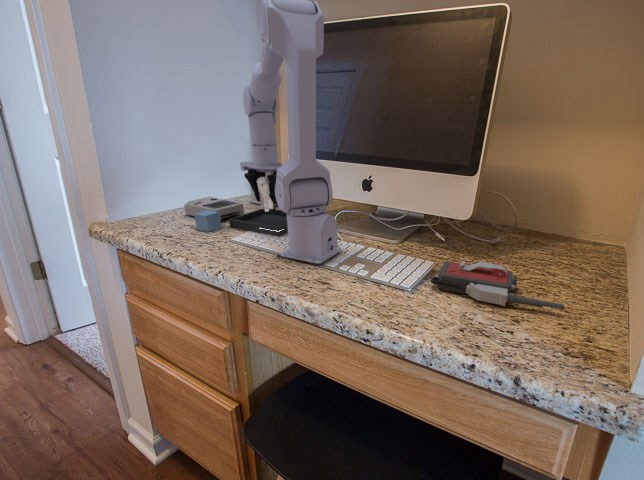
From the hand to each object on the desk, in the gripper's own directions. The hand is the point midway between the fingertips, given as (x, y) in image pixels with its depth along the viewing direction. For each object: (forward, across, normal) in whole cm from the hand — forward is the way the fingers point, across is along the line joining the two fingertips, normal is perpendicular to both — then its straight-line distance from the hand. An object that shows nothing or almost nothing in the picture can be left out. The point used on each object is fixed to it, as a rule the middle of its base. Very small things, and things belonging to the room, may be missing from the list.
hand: (269, 202), depth 93 cm
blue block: (+6, +11, +10) cm, 16 cm away
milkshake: (+3, 0, 0) cm, 3 cm away
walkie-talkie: (+6, -57, +14) cm, 59 cm away
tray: (+6, 0, 0) cm, 6 cm away
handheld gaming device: (+6, +19, +1) cm, 20 cm away
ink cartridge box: (+6, +15, -17) cm, 23 cm away
